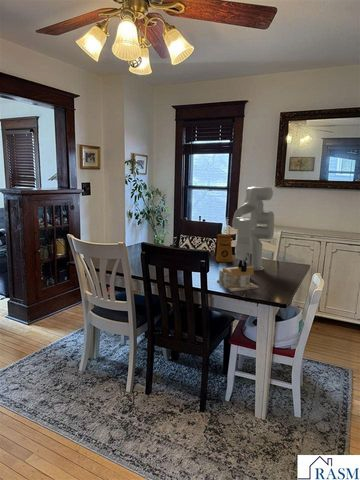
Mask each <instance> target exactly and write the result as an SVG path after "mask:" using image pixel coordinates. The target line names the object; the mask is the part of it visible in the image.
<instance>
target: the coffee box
mask: <svg viewBox="0 0 360 480" xmlns="http://www.w3.org/2000/svg"><path fill="white" fill-rule="evenodd" d="M245 260H246V259H245ZM251 260H252V254H250V260H249V263H248V264H247V267H251ZM235 261H236V262H235V264H236V266H235V267H238V259H237V258H236V260H235ZM244 262H246V261H244ZM251 277H252V274H251V275H250V279H251Z"/></svg>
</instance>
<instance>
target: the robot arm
mask: <svg viewBox="0 0 360 480" xmlns="http://www.w3.org/2000/svg"><path fill="white" fill-rule="evenodd" d="M273 192H274V191H273V188H272V187H271V186H251V187H250V186H249V187H247V188H246V191H245V193H246V196H245V199H244V203H243V204H242V205H240V206H239V207H238V208H237V209H236V210H235V211H234V214H233V218H232V223H231V225H232V228H233V229H235V230H237V232H236V233H237V235H236V245H235V252H234V257H235V258H236V260H237V259H238V268H240V267H241V272H246V271H247V264H248V263H249V260H250V254H252V260H251V266H253V267H254V271H263V270H264V266H262V262H263V261H262V260H263V259H262V258H263V243H262V241H261V240H272V239H273V238H274V235H275V234H274V233H275V232H274V231H275V228H274V227H275V215H274V214H275V213H274V212H273V211H272V210H264V201H271V200H272V198H273ZM247 214H250V217H243V216H244V215H247ZM245 259H246V260H245ZM244 261H246V262H244Z"/></svg>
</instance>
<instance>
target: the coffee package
mask: <svg viewBox="0 0 360 480" xmlns="http://www.w3.org/2000/svg"><path fill="white" fill-rule="evenodd" d="M216 237H217V240H216V241H217V243H216V244H217V245H216V255H215V261H216V262H219V263H232V261H233V247H232V234H229V233H228V234H227V233H226V234H224V233H221V234H220V233H217V235H216Z"/></svg>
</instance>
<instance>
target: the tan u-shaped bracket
mask: <svg viewBox="0 0 360 480" xmlns="http://www.w3.org/2000/svg"><path fill="white" fill-rule="evenodd" d="M226 268H227V267H222V270H223V271H224V272H226V273H227V274H229V275H231V276H241V275H251V276H252V275H254V274H255V273H254V272H255V270H254V267H253V266H251V267H247V271H246V272H241V267H240V268H233V267H230V268H231V271H230V270H228V269H226Z"/></svg>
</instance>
